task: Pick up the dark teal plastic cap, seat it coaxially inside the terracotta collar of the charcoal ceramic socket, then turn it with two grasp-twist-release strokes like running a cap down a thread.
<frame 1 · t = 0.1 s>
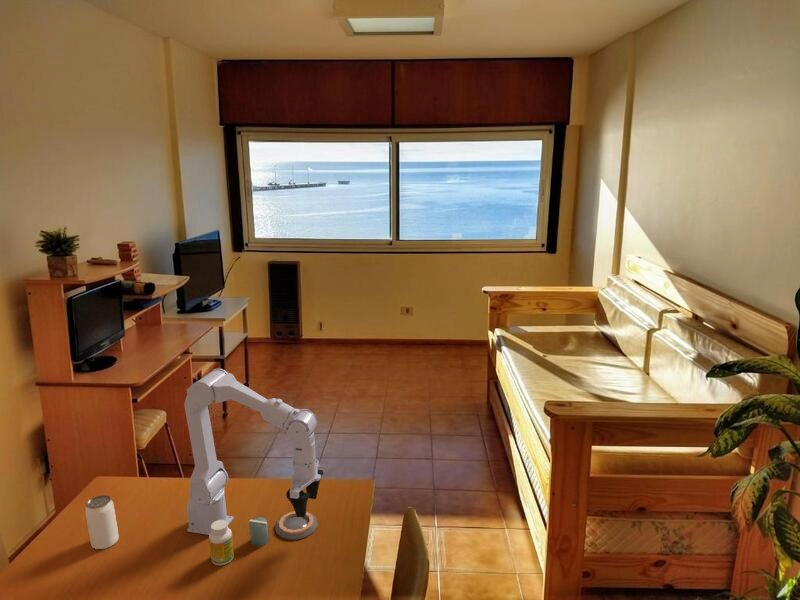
hand: (306, 506, 146), 10 cm above the table, tool pointing down, fingers open, 7 cm apart
supplement bottle: (222, 559, 143), on the table
cap: (259, 540, 149), on the table
socket: (296, 526, 154), on the table
can: (105, 542, 149), on the table
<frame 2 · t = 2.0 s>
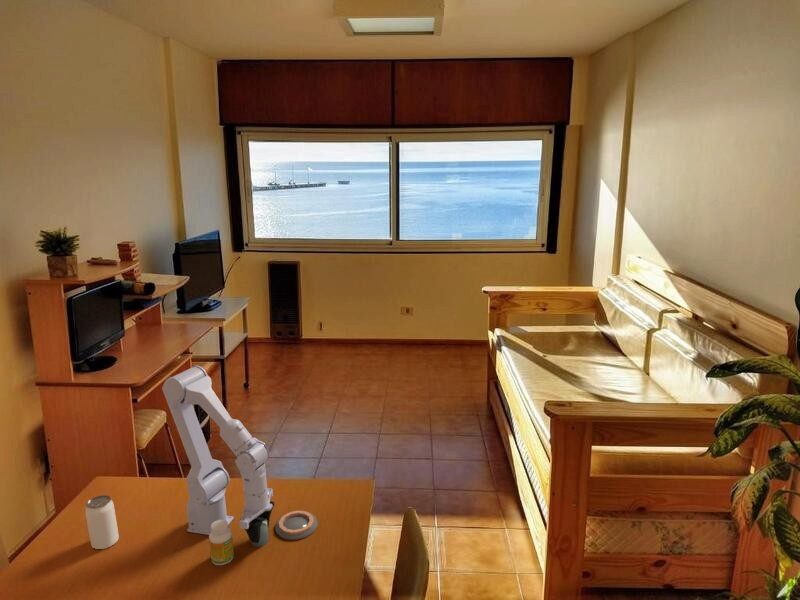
hand: (259, 535, 149), 2 cm above the table, tool pointing down, fingers closed on cap, 4 cm apart
cap: (259, 540, 149), on the table, touching gripper
everything else where it was.
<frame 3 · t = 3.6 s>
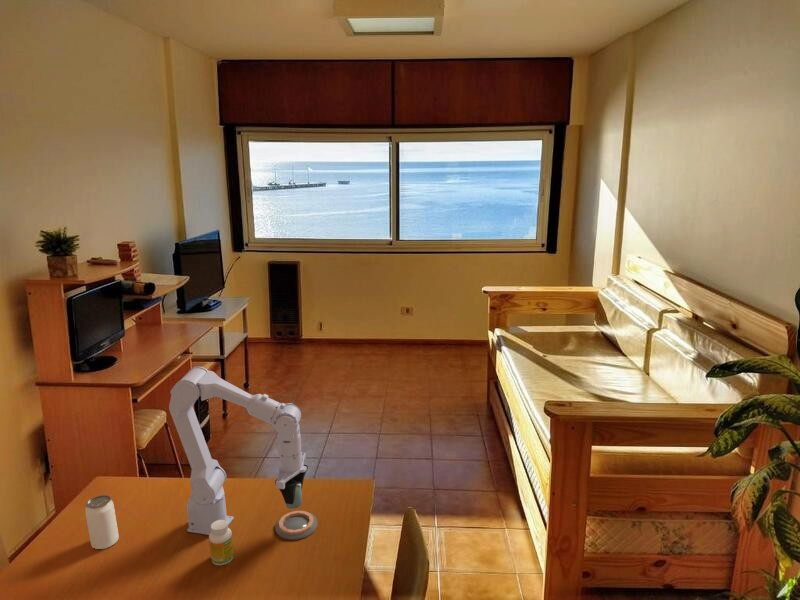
hand: (293, 497, 152), 9 cm above the table, tool pointing down, fingers closed on cap, 4 cm apart
cap: (293, 503, 152), point 7 cm above the table, touching gripper
everything else where it was.
when the fingers open (3 cm above the table, at t = 5.2 s): cap stays where it is, resting on socket.
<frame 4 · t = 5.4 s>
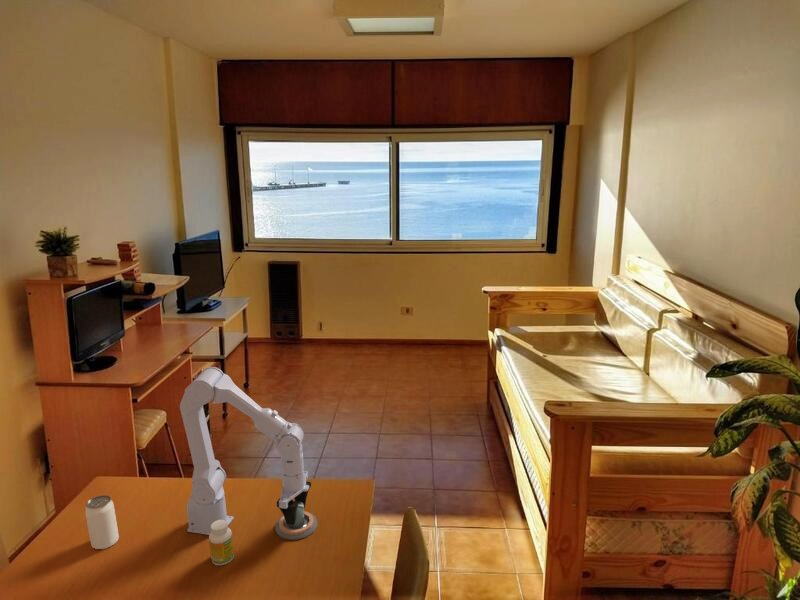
hand: (295, 515, 154), 3 cm above the table, tool pointing down, fingers open, 6 cm apart
cap: (296, 523, 154), point 1 cm above the table, touching socket
everything else where it was.
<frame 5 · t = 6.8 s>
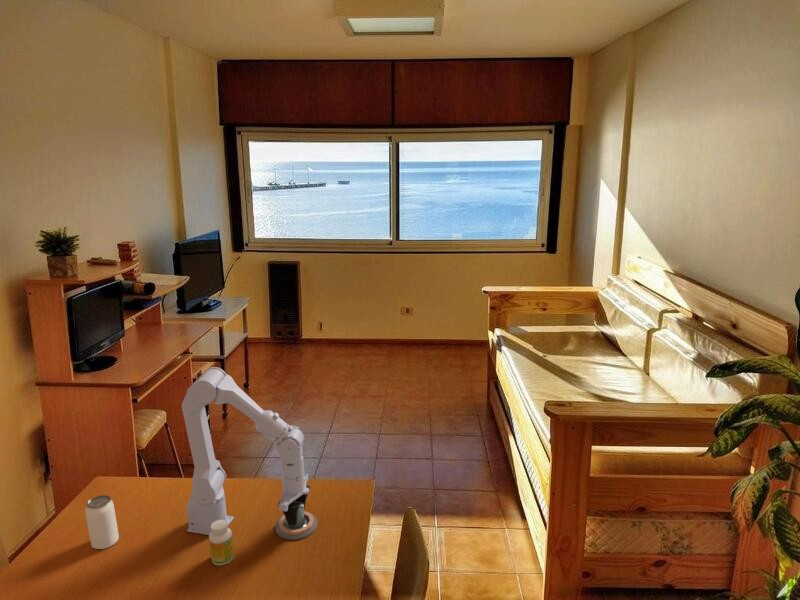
hand: (296, 518, 154), 2 cm above the table, tool pointing down, fingers closed on cap, 4 cm apart
cap: (296, 523, 154), point 1 cm above the table, touching gripper
everything else where it was.
when the fingers open (2 cm above the table, at t = 8.1 s): cap stays where it is, resting on socket.
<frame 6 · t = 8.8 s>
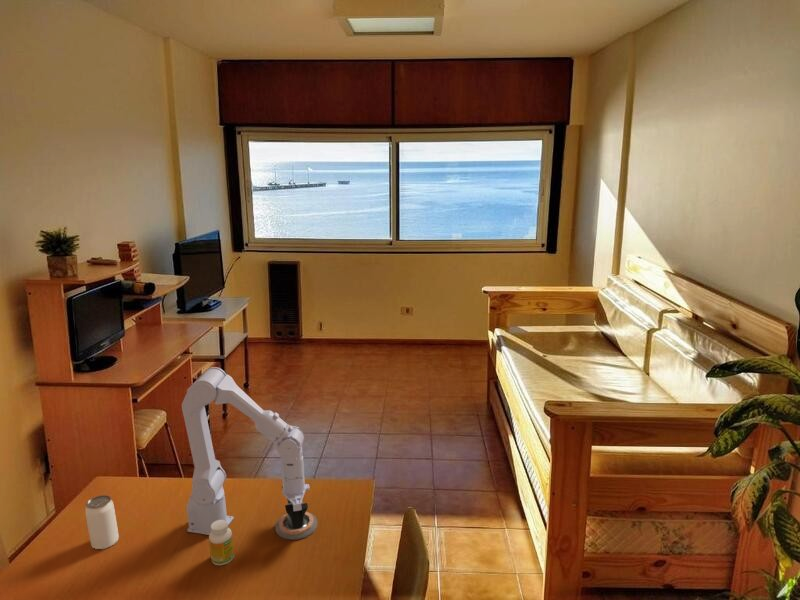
hand: (296, 518, 154), 2 cm above the table, tool pointing down, fingers open, 7 cm apart
cap: (296, 523, 154), point 1 cm above the table, touching socket
everything else where it was.
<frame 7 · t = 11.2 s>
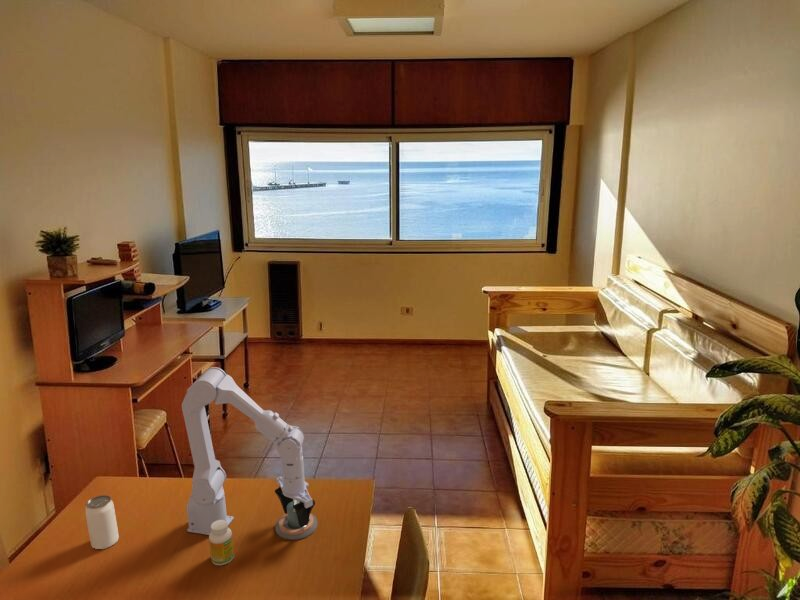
hand: (296, 518, 154), 2 cm above the table, tool pointing down, fingers open, 7 cm apart
nothing on the table moved.
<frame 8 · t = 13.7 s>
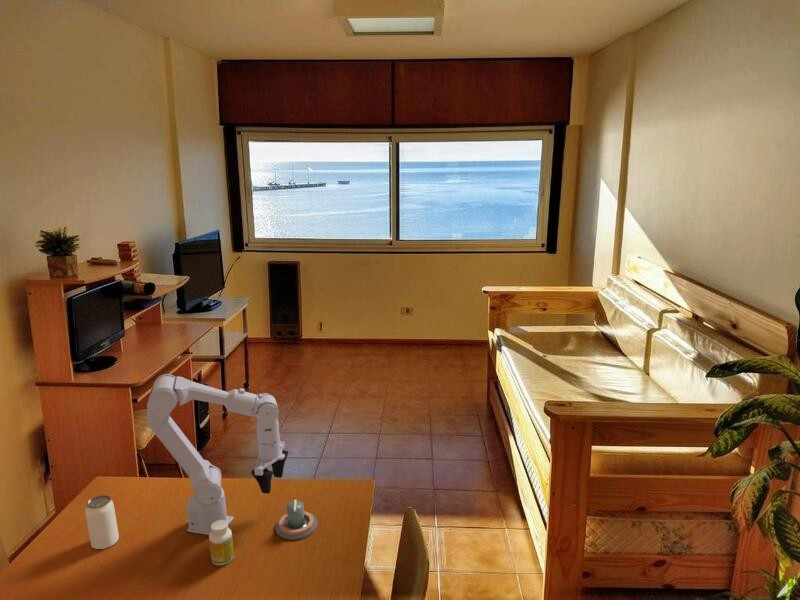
hand: (272, 484, 157), 9 cm above the table, tool pointing down, fingers open, 7 cm apart
nothing on the table moved.
at the end: cap 0.0 cm from the socket (horizontally); cap point 0.8 cm above the table; cap tilted 0° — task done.
